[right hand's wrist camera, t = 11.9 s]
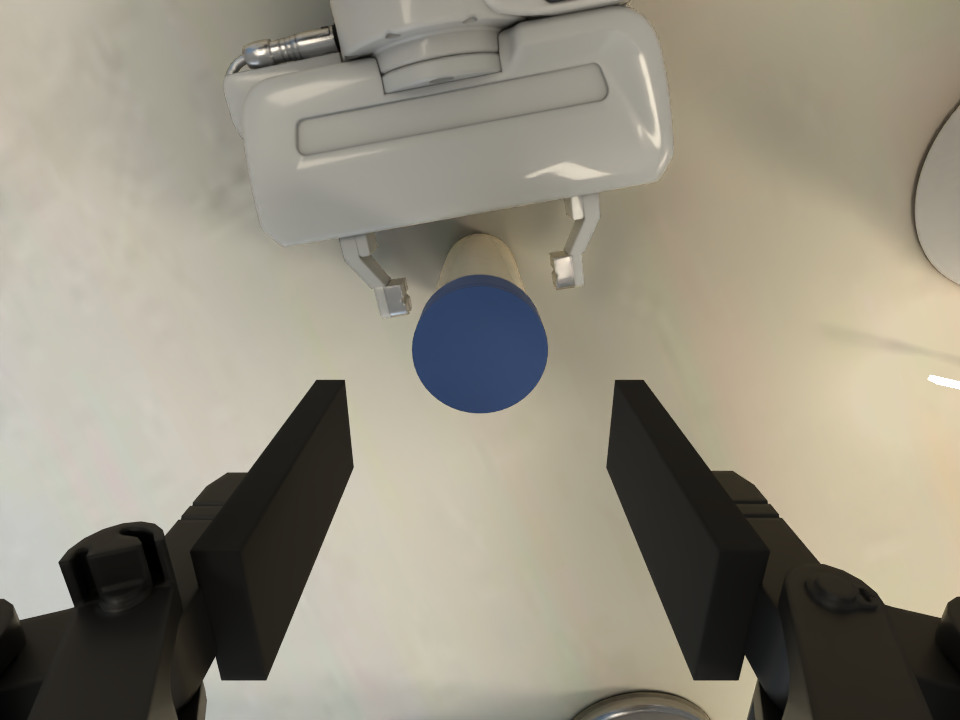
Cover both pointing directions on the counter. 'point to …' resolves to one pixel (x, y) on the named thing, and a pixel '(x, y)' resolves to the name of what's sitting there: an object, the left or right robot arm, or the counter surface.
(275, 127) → the left robot arm
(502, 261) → the cream bottle
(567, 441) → the counter surface
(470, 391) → the lid
